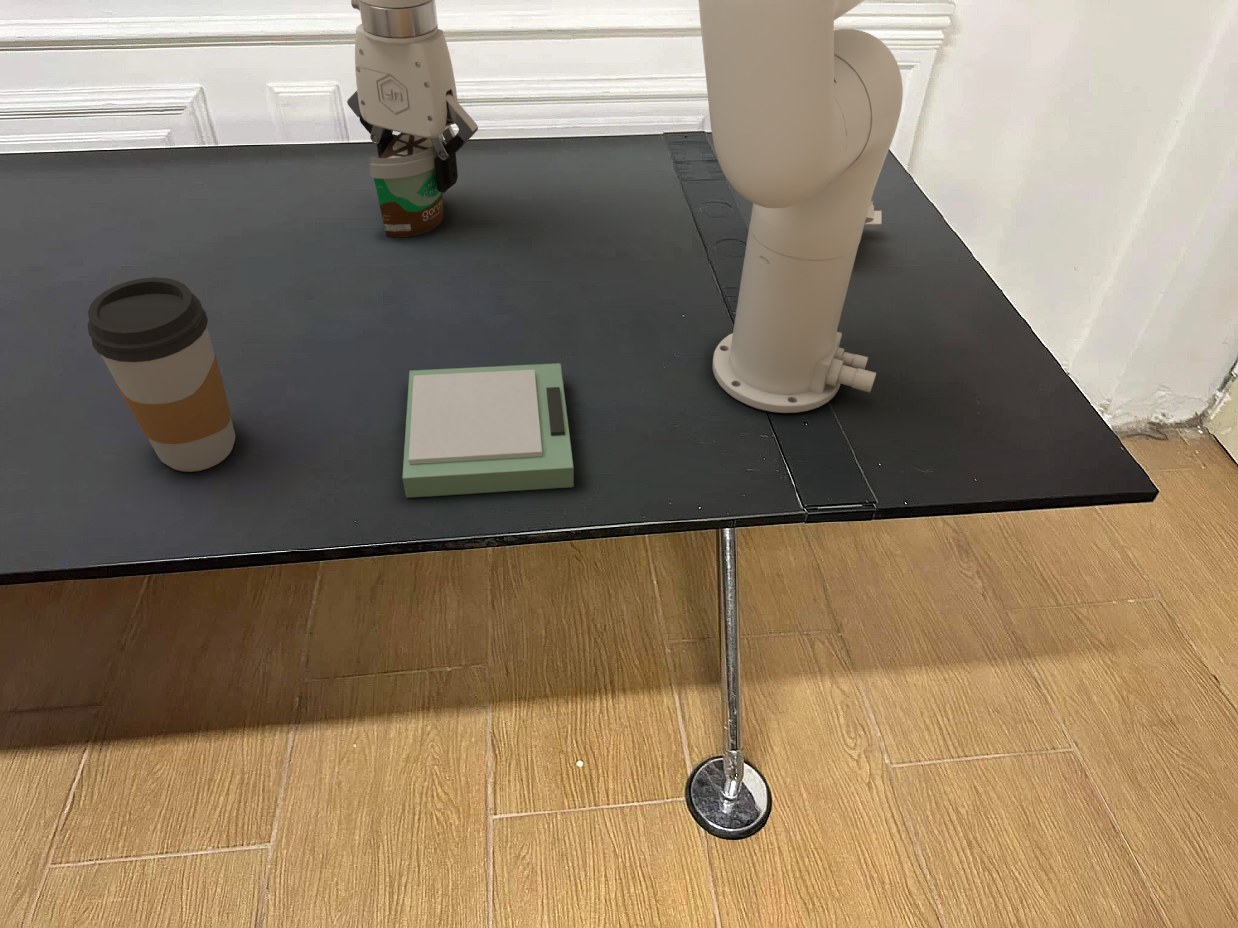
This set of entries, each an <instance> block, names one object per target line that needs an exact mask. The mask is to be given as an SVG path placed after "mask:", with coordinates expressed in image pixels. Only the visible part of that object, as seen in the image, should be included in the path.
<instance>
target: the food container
mask: <svg viewBox="0 0 1238 928" xmlns="http://www.w3.org/2000/svg"><path fill="white" fill-rule="evenodd" d="M396 135H397V136H396V137H394V138H393V139H392V140H391V142H390V143H389V145H388V146H387V148H386V150H385V151H384V153H383V154H382V155H381V156H380V157H379V156H378V157H372V156H371V157H369V161H370V163H369V173H370V174H369V175H370V178H371V179H373V181H374V186H375V190H376V195H377V200H378V204H379V208H380V214H381V219H382V224H383V228H384V232H385V236H386V237H392V238H406V237H407V238H408V237H413V236H418V235H422V234H425V233H427V232H431V231H433V230H435V228H437V227H438V226H439V225H440V224H441V223H442V221H443V219H444V202H443V201H444V199H443V198H444V197H443V196H444V195H443V194H444V193H442V192H439V191H438V190H437V181H436V172H435V164H434V161H435V159H436V158H437V157H438V154H437V152H436V150H435V148H434V146H433V144H432V142H431V140H430V139H428V138H422V137H417V136H413V135H409V134H405V133H401V132H399V134H396ZM440 135H441V136H442V138H443V140H444V142H445V145H446V144H447V143H446V141H445V139H444V137H443V135H442V134H440Z"/></svg>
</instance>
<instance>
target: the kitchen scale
mask: <svg viewBox="0 0 1238 928" xmlns="http://www.w3.org/2000/svg"><path fill="white" fill-rule="evenodd" d="M563 378H564V377H563V372H562V364H561V363H559V362H558V363H557V362H556V363H538V364H518V365H517V364H516V365H500V366H499V365H498V366H496V365H495V366H477V367H476V366H475V367H459V368H458V367H457V368H437V369H435V368H434V369H417V370H416V369H415V370H414V369H413V370H409V372H408V387H407V401H406V418H405V432H404V433H405V434H404V448H403V465H402V477H401V478H402V483H403V489H404V495H405V498H406V499H409V498H411V499H412V498H424V497H425V498H426V497H439V496H442V497H443V496H455V495H472V494H473V495H475V494H488V493H489V494H490V493H502V492H503V493H505V492H519V491H535V490H549V489H551V490H552V489H564V488H566V489H567V488H574V486H575V485H574V484H575V483H574V477H575V476H574V475H575V474H574V472H575V471H574V461H573V452H572V444H571V435H570V427H569V419H568V413H567V412H568V411H567V404H566V396H565V395H566V394H565V388H564V387H565V386H564V379H563Z"/></svg>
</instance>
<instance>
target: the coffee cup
mask: <svg viewBox="0 0 1238 928" xmlns="http://www.w3.org/2000/svg"><path fill="white" fill-rule="evenodd" d="M87 316H88V321H87V331H88V335H89V337H90V338H91V346H92V348H93V349H94V350H95V351H96V352H97V354H99V355H100V356H101V358H102V359H103V361H104V363H105V365H106V367H107V369H108V370H109V372H110V374H111V376H112V377H113V379H114V381H115V385H116V387H117V389H118V391H119V392H120V394H121V396H122V398H123V399H124V401H125V403H126V405H127V406H128V408H129V410H130V411H131V413H132V415H133V417H134V419H135V420H136V422H137V424H138V426H139V428H140V429H141V431H142V433H143V434H144V435H145V437H146V438H147V440H148V441H149V443H150V445H151V447H152V448H153V450H154V452H155V454H156V455H157V457H158V459H159V460H160V461H161V463H163V464H165V465H166V466H168V467H169V468H171V469H173V470H175V471H179V472H188V473H192V472H200V471H203V470H207V469H210V468H212V467H214V466H216V465H218V464H220V463H221V462H223V461H224V460H225V459H226V458H227V457H228V456H229V455H230V454H231V452H232V450H233V449H234V444H235V441H236V433H235V429H234V424H233V420H232V417H231V409H230V406H229V401H228V398H227V394H226V390H225V387H224V383H223V378H222V374H221V371H220V366H219V363H218V359H217V356H216V354H215V352H214V349H213V345H212V344H213V343H212V341H211V337H210V332H209V329H208V322H209V319H208V315H207V312H206V311H205V309H204V308H203V305H202V302H201V300H200V299H199V298H198V297H197V296H196V295H195V294H194V293H192V291H191V290H190V288H189V287H188V286H187V285H186V284H184V283H182V282H180V281H179V280H176V279H173V278H168V277H156V276H154V277H143V278H137V279H132V280H127V281H124V282H122V283H118V284H116V285H114V286H111V287H110V288H108V289H106V290H105V291H103V292H101V293H100V294H99V295H98V296H96V297H95V299H94V300H93V301H91V303H90V304H89V308H88V311H87Z"/></svg>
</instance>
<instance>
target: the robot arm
mask: <svg viewBox="0 0 1238 928" xmlns="http://www.w3.org/2000/svg"><path fill="white" fill-rule="evenodd" d="M864 1H865V0H698V9H699V23H700V31H701V32H700V33H701V42H702V53H703V62H704V72H705V73H704V74H705V82H706V93H707V102H708V113H709V122H710V128H711V129H710V130H711V131H710V132H711V136H712V137H711V138H712V142H713V143H712V144H713V146H714V152H715V155H716V158H717V161H718V165H719V167H720V170H721V171H722V173H723V174H724V176H725V178H726V180H727V182H728V183H729V184H730V185H731V186H732V188H733V189H734V191H736V192H737V193H738V194H739V195H740V196H741V197H742V198H743V199H745V200H746V201H748V202H751V203H752V209H751V214H750V221H749V226H748V231H747V239H746V245H745V252H744V258H743V264H742V272H741V278H740V284H739V291H738V297H737V304H736V311H735V317H734V324H733V330H732V333H729V334H728V335H727V336H726V337H724V338H723V339H722V340H721V341H720V342H719V343H718V344H717V346H716V348H715V350H714V351H713V357H712V372H713V375H714V378H715V380H716V381H717V383H718V385H719V386H720V388H722V390H724V391H725V392H726V393H727V394H728V395H729V396H730V397H732V398H734V399H735V400H736V401H738V402H741V403H743V404H744V405H746V406H749V407H752V408H755V409H757V410H761V411H766V412H771V413H778V414H779V413H780V414H796V413H801V412H802V413H803V412H808V411H811V410H815V409H817V408H820V407H822V406H823V405H825V404H827V403H829V402H830V401H831V400H832V399H833V398H834V397H835V396H836V395H837V393H838V392H839V390H840V387H841V385H844V386H848V387H851V389H855V390H859V391H861V392H866V393H869V394H870V393H871V391H872V388H873V386H874V382H875V380H876V377H877V372H874V371H871V370H867V369H866V367H867V364H868V361H869V356H865V355H860V354H857V353H851V352H847V351H845V348H843V347H840V344H841V340H842V337H843V333H842V332H840V331H838V328H839V325H840V321H841V317H842V313H843V309H844V305H845V301H846V296H847V293H848V289H849V284H850V280H851V277H852V274H853V273H852V272H853V269H854V265H855V261H856V256H857V253H858V249H859V245H860V243H861V240H862V236H863V233H864V227H865V226H864V224H865V221H866V217H867V213H868V209H869V206H870V202H871V201H872V199H873V195H874V192H875V189H876V186H877V183H878V180H879V177H880V175H881V172H882V169H883V166H884V164H885V161H886V158H887V155H888V153H889V151H890V148H891V145H892V143H893V139H894V136H895V134H896V131H897V128H898V124H899V121H900V116H901V112H902V105H903V97H904V96H903V95H904V94H903V93H904V87H903V78H902V73H901V70H900V67H899V64H898V61H897V59H896V57H895V56H894V53H893V52H892V51H891V49H890V48H889V47H888V45H886V44H885V43H884V42H883V41H882V40H881V39H879V38H878V37H877V36H875V35H873V34H871V33H869V32H866V31H863V30H859V29H854V28H839V29H835V21H836V20H837V19H839V18H840V17H843V16H845V14H847V13H848V12H850V11H851V10H853V9H854V8H856V7H857V6H858V5H860V4H861V3H863V2H864ZM350 4H351V7H352V8H353V9H354V10H358V11H359V14H360V19H361V23H360V24H359V25H357V26H356V28H355V39H354V69H355V70H354V71H355V81H356V83H355V84H356V91H355V92H354V93H353V94H352V95H350V97H349V98H348V99H347V100H346V103H347V106H348V107H349V108H350V110H351V111H352V112H353V113H354V114H355V116H356V117H357V118H359V123H360V124H361V125H362V126H363V127H364V129H365V130H366V131H367V132H368V133H369V134H370V136H369V138H370V141H371V142H372V143H373V144H375V145H376V148H377V156H378V158H379V157H380V156H381V155H382V154H383V153H384V151H385V150H386V148H387V146H388V145H389V143H390V142H391V140H392V139H393V138H394V137H396V136H397V135H398V134H394V132H397V133H405V134H409V135H413V136H417V137H422V138H428V139H430V140H431V142H432V144H433V146H434V148H435V150H436V152H437V154H438V157H437V158H436V159H435V161H434V164H435V172H436V181H437V190H438V191H439V192H442V193H443V194H445V193H446V192H447V191H448V190H450V189H451V188H452V187H453V186H454V185H456V183H457V181H458V177H459V175H458V174H459V173H458V164H457V154H456V153H457V152H459V150H460V149H462V147H463V146H465V144H466V143H467V142H468V141H469V140H470V139H471V138H472V137H473V136H474V135H475V134H476V133H477V132H478V130H479V125H478V124H477V123H476V122H475V120H474V119H473V118H472V117H471V116H470V115H469V113H468V112H467V111H466V110H465V109H464V108H463V107H462V105H461V104H460V103H459V101H458V94H457V85H456V79H455V74H454V67H453V63H452V59H451V58H452V57H451V55H450V50H449V46H448V43H447V40H446V36H445V34H444V31H443V30H442V29H439V23H438V15H437V2H436V0H350ZM453 125H455V126H457V129H458V131H457V132H456V134H455V131H454V129H453V128H452V126H453ZM440 134H442V136H443V138H444V140H443V138H442V136H441V135H440ZM444 141H445V142H444ZM445 144H446V145H445Z"/></svg>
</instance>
